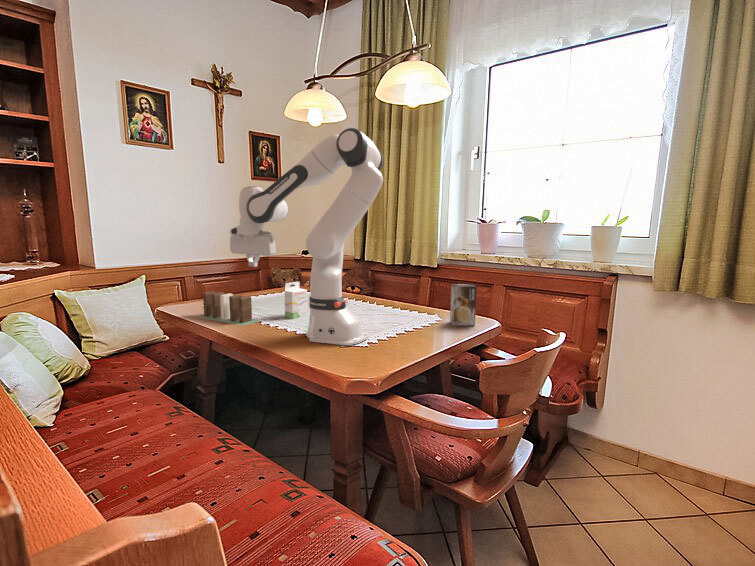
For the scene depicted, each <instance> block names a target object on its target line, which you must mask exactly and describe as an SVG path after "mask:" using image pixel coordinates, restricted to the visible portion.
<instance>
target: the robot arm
mask: <svg viewBox="0 0 755 566" xmlns="http://www.w3.org/2000/svg"><path fill="white" fill-rule="evenodd" d="M383 165H384V157H383V154H382V152H381V150H380V149H379V148H377V146H376V145H375V143H374V141H373V140H372V139H371V138H370V137H369V136H367V135H366V134H365V132H363V131H362V130H360V129H358V128H355V127H349V128H345V129H344V130H343V131H341V132H340V133H339V134H337V133H332V134H331V135H329V136H327V137H325V138H324V139H322V141H319V143H317V144H316V145H315V146H314V147H313V148H312V149H310V150H309V152H308V153H307V154H306V155H304V157H303V158H301V159H300V160H299V161H298V162H297V163H296V164H295V165H294V166H293V167H291V169H289V170H288V171H286V172H285V173H284V174H283V175H282V176H281V177H279V178H278V179H277V180H276V181H275V182H273V183H272V184H270V185H269V186H268V187H267V188H266V189H265V190H264V189H263V188H262V187H260V186H247V187H243V188H242V189H240V192H239V196H238V198H239V199H238V208H239V209H238V211H239V214H240V215H239V217H240V219H239V225H237V226H234V227H232V228H230V229H229V234H230V235H231V236H230V237H229V249H230V252H231V253H232V254H239V255H245V258H246V260H247V262H248V266H249V267H255V268H257V267H258V264H259V263H258V262H259V261H260V259H261V256H264V257H271V256H273V257H274V256H275V255H276V253H277V251H276V250H277V249H276V242H275V236H274V234H273V233H272V231H271V230H265V224H266V223H276V222H278V223H279V222H282V221H283V220H285V219H286V218H287V216H288V213H289V207H288V203H287V201H285V200H286V198H288V197H289V196H290V195H291V194H293V193H294V192H295V191H297V190H299V189H301V188H304V187H311V186H318V185H320V184H321V183H323V182H325V181H326V180H328V179H329V178H330V177H332V176H333V175H334V174H335V173H336V172H337V171H338V170H339V169H340V168H341V167H342V166H347V167H349V168H350V169H351V175H350V177H349V179H348V180H347V182H345V184H344V186H343V187H342V189H341V190H340V192H339V193H338V194H337V196H336V198H335V199H334V201H333V202H332V203H331V205H330V207H328V209H327V210H326V211H325V213H323V215H322V216H321V218H320V219H319V220H318V221H317V222H316V224H315V225H314V226H313V228H312V229H311V231H310V232H309V234H307V237H306V240H305V247H306V250H307V252H308V253H309V255H311V257H312V264H311V271H310V277H309V281H310V285H309V286H310V287H309V288H310V296H309V297H308V298H309V299H308V301H309V302H308V304H309V306H308V307H309V309H310V313H309V320H308V321H309V322H308V327H307V331H306V333H305V334H306V338H308V341H309V342H313V343H322V344H330V345H339V346H353V344H355V345H357V343H358V344H360V342H361V343H362V341H363V342H365V341H366V340H367V339H368V338H369V333H368V332H365V331H363V326H362V322H361V320H360V318H358V317H357V316H356V315H355V314H354V313H353V312H352V311H350V309H349V308H347V305H346V304H347V303H349V299H344V297H343V295H342V294H343V293H342V292H343V291H342V290H343V289H342V288H343V287H342V285H343V284H342V282H343V280H342V279H343V264H344V249H345V242H346V240H347V239H348V238H349V236H350V235H351V233H352V232H353V231H354V230H355V229H356V227H357V226H358V224H360V222H361V220H362V219H363V217H364V216H365V214H367V212H368V210H369V208H370V207H371V206H372V204H373V203H374V201H375V199H376V197H377V196H378V194H379V192H380V190H381V187H382V186H383V183H384V176H383V174H382V172H381V170H382V169H383ZM364 340H365V341H364Z"/></svg>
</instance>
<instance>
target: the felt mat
mask: <svg viewBox="0 0 755 566" xmlns="http://www.w3.org/2000/svg"><path fill="white" fill-rule="evenodd" d="M197 318H198V319H203V320H204V319H205V320H211V321H215V322H221V323H227V324H232V325H237V326H238V325H239V326H242V327H245V326H248V325H251V324H254V323H257V322H260V321H262V319H258V318H253V317H252V321H248V322H245V323H239V320H237V321H230V319H226V320H222V319H221V317H219V318H213V316H209V317H205V316H204V314H201V315H198V316H197Z"/></svg>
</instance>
